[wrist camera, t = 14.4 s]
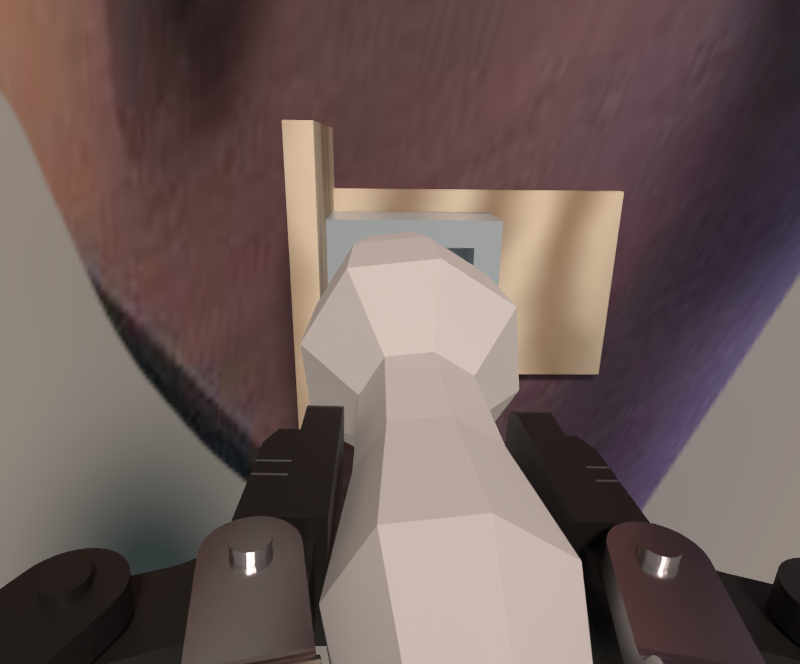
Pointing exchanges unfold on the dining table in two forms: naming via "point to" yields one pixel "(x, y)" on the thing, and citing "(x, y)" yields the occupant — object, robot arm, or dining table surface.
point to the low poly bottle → (434, 471)
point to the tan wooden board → (519, 264)
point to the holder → (455, 231)
